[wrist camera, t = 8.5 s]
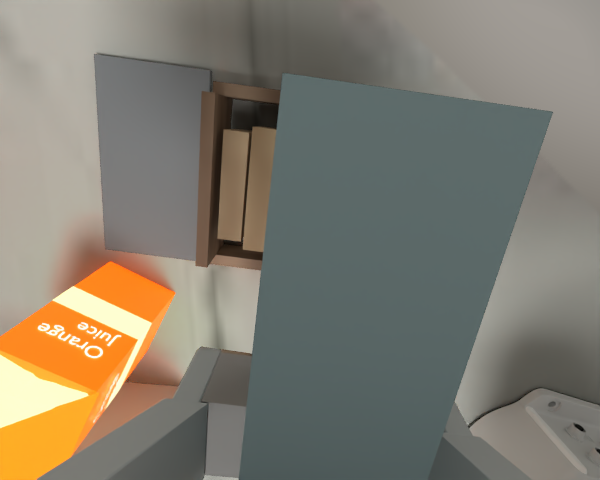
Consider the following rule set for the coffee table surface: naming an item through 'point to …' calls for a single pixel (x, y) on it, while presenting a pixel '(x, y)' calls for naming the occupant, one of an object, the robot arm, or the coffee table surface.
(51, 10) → the coffee table surface
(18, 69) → the coffee table surface
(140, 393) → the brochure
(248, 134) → the offcut
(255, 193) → the offcut
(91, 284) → the orange juice
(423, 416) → the light blue slab
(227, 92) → the rack
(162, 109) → the mat
